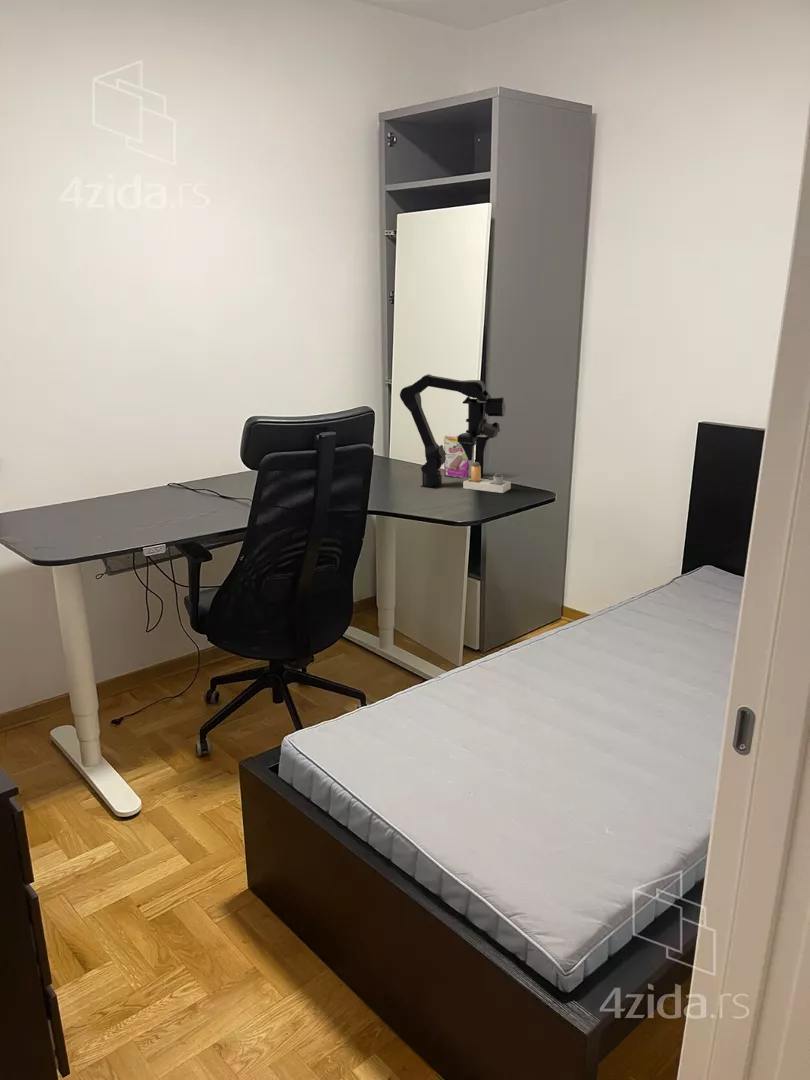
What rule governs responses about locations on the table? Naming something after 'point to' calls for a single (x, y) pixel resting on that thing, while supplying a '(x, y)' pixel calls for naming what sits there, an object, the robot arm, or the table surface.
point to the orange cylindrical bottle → (476, 472)
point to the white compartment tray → (487, 486)
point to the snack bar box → (456, 458)
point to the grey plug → (498, 479)
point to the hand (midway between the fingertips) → (475, 458)
